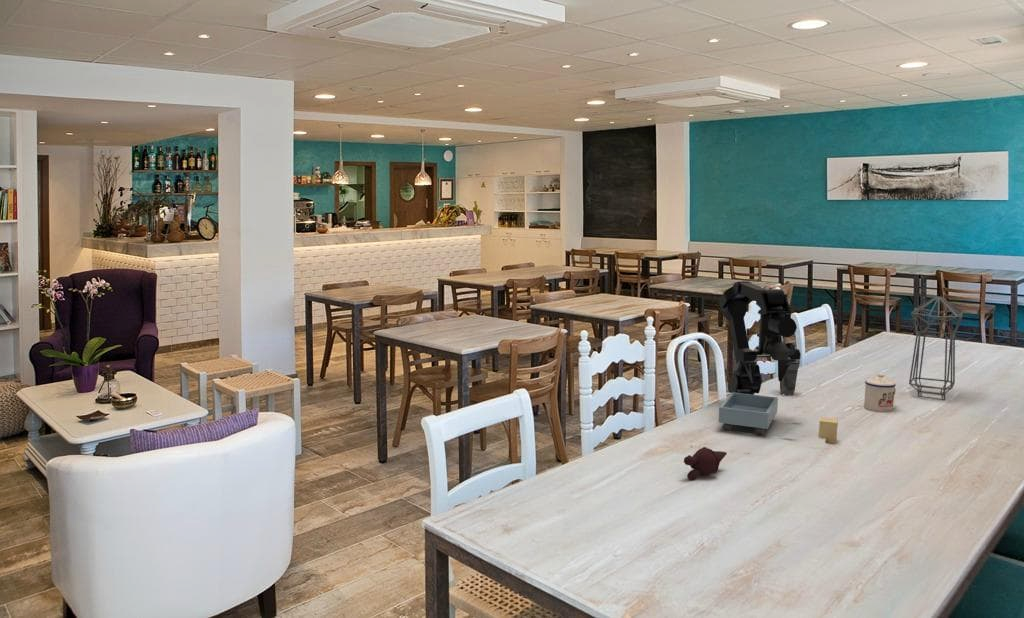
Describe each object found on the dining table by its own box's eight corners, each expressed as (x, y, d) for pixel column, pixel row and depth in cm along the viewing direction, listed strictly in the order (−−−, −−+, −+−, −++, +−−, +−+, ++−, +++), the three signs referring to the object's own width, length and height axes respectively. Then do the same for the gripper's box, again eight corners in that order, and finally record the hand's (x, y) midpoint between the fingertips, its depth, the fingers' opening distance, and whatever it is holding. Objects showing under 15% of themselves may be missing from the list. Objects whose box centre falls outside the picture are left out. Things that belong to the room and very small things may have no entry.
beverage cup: (799, 397, 273) (803, 340, 270) (777, 395, 274) (780, 339, 272) (796, 392, 280) (800, 336, 277) (775, 390, 282) (778, 335, 279)
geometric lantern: (954, 404, 265) (964, 300, 260) (902, 397, 273) (910, 297, 268) (957, 394, 278) (966, 295, 273) (907, 388, 286) (915, 292, 281)
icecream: (711, 439, 205) (672, 455, 196) (734, 439, 199) (694, 456, 190) (717, 465, 205) (678, 482, 196) (740, 466, 199) (700, 484, 190)
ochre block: (818, 441, 224) (819, 420, 224) (819, 437, 228) (821, 416, 228) (835, 443, 222) (836, 423, 222) (836, 439, 226) (837, 419, 226)
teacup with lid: (881, 413, 253) (883, 378, 251) (856, 406, 261) (859, 372, 259) (905, 409, 259) (908, 374, 257) (881, 402, 267) (883, 368, 265)
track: (723, 437, 227) (723, 432, 227) (737, 418, 247) (737, 414, 247) (796, 447, 219) (797, 442, 218) (805, 426, 238) (805, 422, 238)
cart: (718, 430, 229) (719, 407, 228) (731, 413, 246) (732, 392, 245) (767, 437, 223) (768, 413, 222) (776, 419, 241) (778, 397, 240)
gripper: (754, 337, 227) (751, 390, 229) (813, 335, 231) (809, 387, 234) (735, 330, 238) (733, 380, 240) (791, 328, 242) (788, 378, 244)
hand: (766, 381), depth 239 cm, fingers open, 9 cm apart
